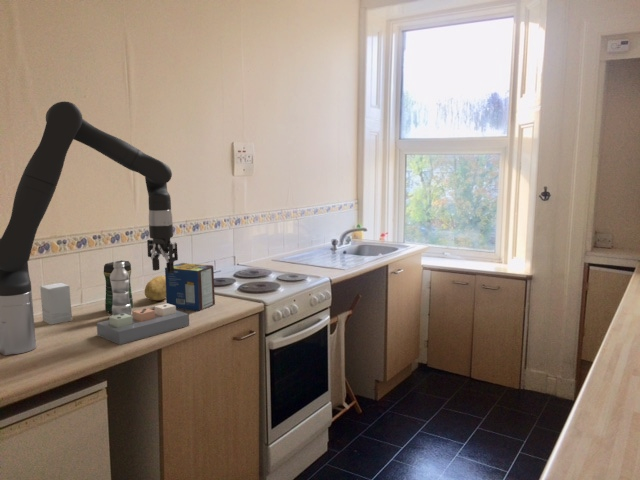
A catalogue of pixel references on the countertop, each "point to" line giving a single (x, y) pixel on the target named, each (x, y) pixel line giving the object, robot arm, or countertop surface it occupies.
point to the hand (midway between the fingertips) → (163, 271)
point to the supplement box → (56, 303)
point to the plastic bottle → (120, 289)
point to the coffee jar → (109, 294)
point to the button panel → (142, 328)
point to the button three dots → (143, 314)
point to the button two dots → (120, 320)
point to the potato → (156, 288)
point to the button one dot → (165, 309)
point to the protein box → (190, 286)
